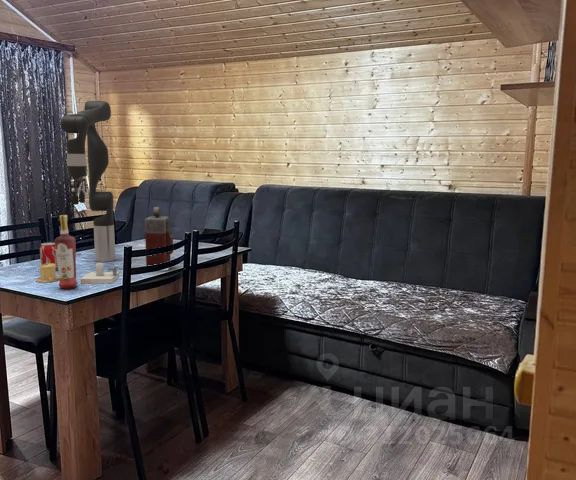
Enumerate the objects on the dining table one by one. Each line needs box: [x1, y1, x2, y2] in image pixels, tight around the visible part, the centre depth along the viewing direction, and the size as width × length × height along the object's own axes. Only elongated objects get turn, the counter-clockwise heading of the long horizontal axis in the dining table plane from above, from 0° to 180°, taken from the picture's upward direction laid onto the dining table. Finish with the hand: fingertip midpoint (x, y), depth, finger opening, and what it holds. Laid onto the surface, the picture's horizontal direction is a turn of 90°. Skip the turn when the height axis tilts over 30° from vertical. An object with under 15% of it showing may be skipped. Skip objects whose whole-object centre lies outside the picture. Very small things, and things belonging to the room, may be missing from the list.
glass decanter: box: [144, 206, 174, 266], centre depth 232 cm, size 9×11×28 cm
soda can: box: [39, 242, 58, 271], centre depth 228 cm, size 7×7×12 cm
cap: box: [39, 263, 57, 281], centre depth 210 cm, size 6×8×6 cm
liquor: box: [54, 214, 79, 290], centre depth 198 cm, size 7×7×28 cm
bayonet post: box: [79, 262, 120, 285], centre depth 212 cm, size 12×12×7 cm
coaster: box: [35, 275, 60, 284], centre depth 212 cm, size 9×9×1 cm
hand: (79, 203), depth 219 cm, fingers open, 8 cm apart
